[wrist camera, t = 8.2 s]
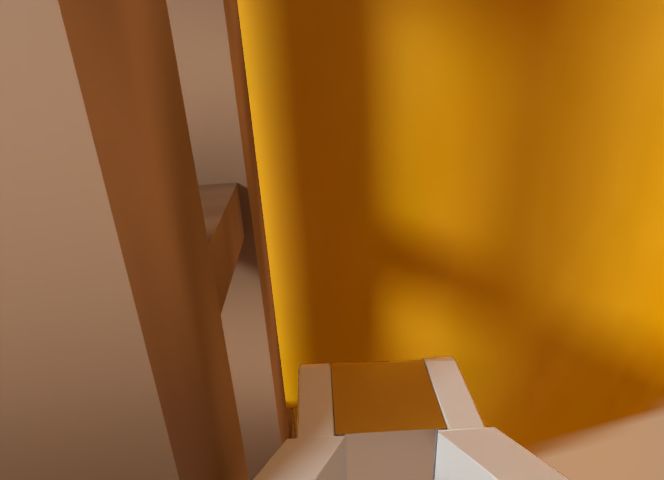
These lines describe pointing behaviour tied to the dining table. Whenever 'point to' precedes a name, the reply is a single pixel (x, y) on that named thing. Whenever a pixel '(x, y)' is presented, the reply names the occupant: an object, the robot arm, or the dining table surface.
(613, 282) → the dining table surface
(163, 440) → the gate
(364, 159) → the dining table surface
